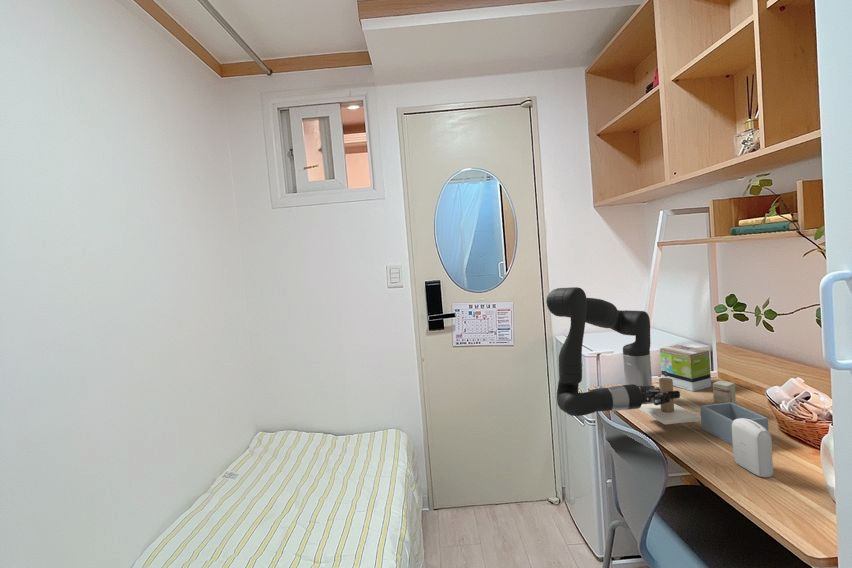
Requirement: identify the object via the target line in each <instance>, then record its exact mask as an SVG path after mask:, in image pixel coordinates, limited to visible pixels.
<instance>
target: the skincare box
mask: <svg viewBox="0 0 852 568" xmlns="http://www.w3.org/2000/svg"><path fill="white" fill-rule="evenodd" d="M712 391H713V392H712V393H713V404H721V403H729V402H732V403H734V404H736V403H737V401H736V399H737V398H736V383H735V382H732V381H726V380H720V379H719V380H717V381H714V382H712Z"/></svg>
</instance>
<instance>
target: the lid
mask: <svg viewBox="0 0 852 568" xmlns="http://www.w3.org/2000/svg"><path fill="white" fill-rule="evenodd" d="M658 383H659V389H660V392H668V391H674V386H673V380H672V379H670V378H662V377H661V378H658ZM661 395H662V394H661ZM674 401H675V400H674V399H670V402H668V403H664V404H660V405H654V402H652V403H645V404H644V403H642V405H641V407H640V408H638V409H639V410H641V411H642V412H643V413H646V415H649V416H650V417H652V418H653V419H655V420H656V421H658V422H660V424H661V423H662V424H663V425H672V424H681V423H682V424H683V423H691V422H692V423H693V422H701V416H698V415H697V414H695V413H694V412H691V411H689V410H687V409H686V408H683V407H682V406H680V405H678V404H676V403H675V402H674Z"/></svg>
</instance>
